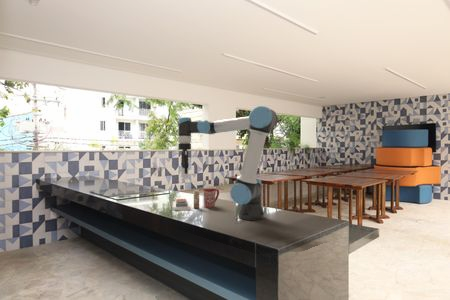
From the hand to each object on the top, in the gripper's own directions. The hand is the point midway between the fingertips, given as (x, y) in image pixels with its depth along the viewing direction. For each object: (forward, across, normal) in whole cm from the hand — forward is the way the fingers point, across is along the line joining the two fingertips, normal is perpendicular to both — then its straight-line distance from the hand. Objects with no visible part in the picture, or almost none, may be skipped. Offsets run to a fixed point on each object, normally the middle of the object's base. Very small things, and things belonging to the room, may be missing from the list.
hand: (184, 178), depth 181 cm
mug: (+23, -24, +21) cm, 40 cm away
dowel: (+23, -21, +10) cm, 33 cm away
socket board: (+23, -28, 0) cm, 36 cm away
